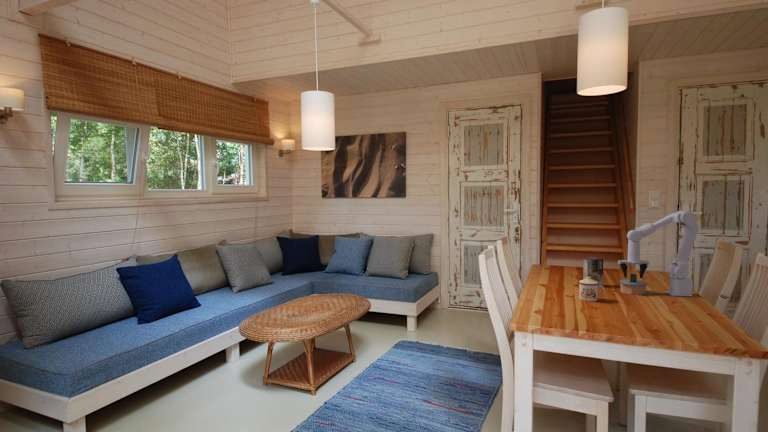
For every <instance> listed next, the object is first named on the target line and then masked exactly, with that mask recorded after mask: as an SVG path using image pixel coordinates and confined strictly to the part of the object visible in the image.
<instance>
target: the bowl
mask: <svg viewBox="0 0 768 432" xmlns="http://www.w3.org/2000/svg"><path fill="white" fill-rule="evenodd" d="M619 290H620V292H621V293H623V294H627V295H631V296H634V295H635V296H643V295H646V294H647V293H646V292H647V285H646V286H630V285H625V284H621V283H620V289H619Z"/></svg>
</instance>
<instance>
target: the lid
mask: <svg viewBox="0 0 768 432" xmlns="http://www.w3.org/2000/svg"><path fill="white" fill-rule="evenodd" d="M629 277H630V278H628V279H627V278H625V279H623V278H622V279H619V284H620V285H621V284H625V285H630V286H646V287H647V286H648V282H647V281H645V280H639V279H638V275H637V274H636V273H631V274H630V276H629Z"/></svg>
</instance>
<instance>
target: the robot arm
mask: <svg viewBox="0 0 768 432" xmlns="http://www.w3.org/2000/svg"><path fill="white" fill-rule="evenodd" d="M697 219H698V218H697V215H695V214H694V213H693V212H692V211H690V210H689V211H686V210H678V211H677V210H676V211H674V212H672V213H670V214H668V215H667V216H664V217H662V218H661V219H658V220H657V221H655V222H653V223H651V222H648V223H647V222H645V223H643V225H641V226H638V227H635V228H634V229H631V230H629V231H628V232H627V234H626V238H627V241H628V243H627V259H620V260H619V259H618V261H617V263H618V265H620V267H621V270H622V274H623V277H624V278H625V279H627V277H628V265H639V278H640V279H643V278H644V274H645V271H646V270H647V269H648V266H649V265H650V261H649V260H641V240H642V239H643V238H645V237H648V236H650V235H652V234H654V233H656V230H657V229H659V228H662V227H664V226H666V225H668V224H671V223H679V224H680V225H682V227H683V228H684V234H683V236H682V239H681V242H680V246H679V248H678V252H677V254H676V256H675V258H674V260H673V261H672V263H671V264H670V265H669V266H668V272H669V274H670V275H669V290H667V291H665V293H667V294H668V295H670V296H672V297H673V296H674V297H693V281H692V278H690V277H688V275H689V263H688V261H689V258H690V256H691V252H692V249H693V247H694V244H695V241H696V239H697V236H698V233H699V230H700V229H699V224H698V221H697Z"/></svg>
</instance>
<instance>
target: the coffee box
mask: <svg viewBox="0 0 768 432" xmlns="http://www.w3.org/2000/svg"><path fill="white" fill-rule="evenodd" d="M582 264H583V266H582V268H583V272H582V273H583V276H582V277H583V278H582V280H583V279H586V278H587V277H591V279H593V280H594V281H597V282H598V283H599V284H598V286H602V287H604V259H603V258H601V257H596V256H595V257H593V256H592V257H583V263H582Z"/></svg>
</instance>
